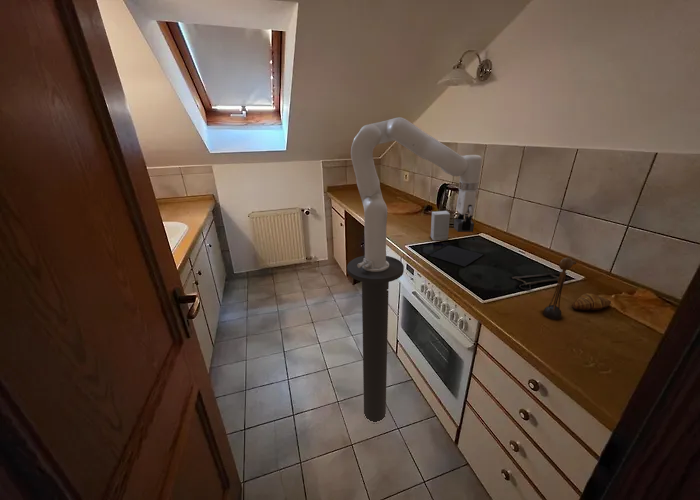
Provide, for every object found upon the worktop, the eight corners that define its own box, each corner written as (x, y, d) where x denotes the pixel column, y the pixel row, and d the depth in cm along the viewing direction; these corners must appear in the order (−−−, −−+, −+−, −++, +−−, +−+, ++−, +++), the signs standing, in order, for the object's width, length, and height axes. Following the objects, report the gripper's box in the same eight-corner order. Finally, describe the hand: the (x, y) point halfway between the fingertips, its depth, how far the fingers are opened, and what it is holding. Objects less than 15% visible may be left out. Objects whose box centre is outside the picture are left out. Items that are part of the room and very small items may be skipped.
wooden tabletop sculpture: (554, 309, 97) (569, 253, 90) (567, 317, 93) (584, 259, 86) (539, 312, 96) (554, 256, 88) (552, 320, 92) (568, 262, 84)
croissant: (598, 299, 102) (602, 287, 100) (617, 310, 96) (622, 297, 94) (563, 304, 100) (567, 291, 98) (581, 315, 94) (585, 302, 92)
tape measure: (473, 231, 127) (474, 223, 125) (457, 231, 127) (458, 223, 126) (467, 226, 134) (469, 218, 132) (453, 226, 134) (454, 218, 133)
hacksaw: (563, 273, 120) (564, 270, 120) (584, 286, 111) (585, 282, 110) (506, 277, 118) (507, 274, 118) (523, 290, 109) (524, 287, 108)
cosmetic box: (444, 236, 164) (447, 210, 158) (448, 240, 158) (451, 213, 152) (429, 237, 164) (431, 210, 158) (432, 241, 158) (434, 213, 153)
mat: (464, 267, 128) (464, 266, 128) (428, 255, 141) (428, 255, 140) (483, 255, 139) (483, 254, 139) (448, 245, 152) (448, 244, 152)
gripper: (453, 182, 131) (449, 221, 138) (465, 190, 115) (460, 234, 122) (471, 182, 131) (466, 221, 137) (485, 190, 115) (478, 234, 121)
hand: (463, 227), depth 130 cm, fingers closed on tape measure, 6 cm apart
